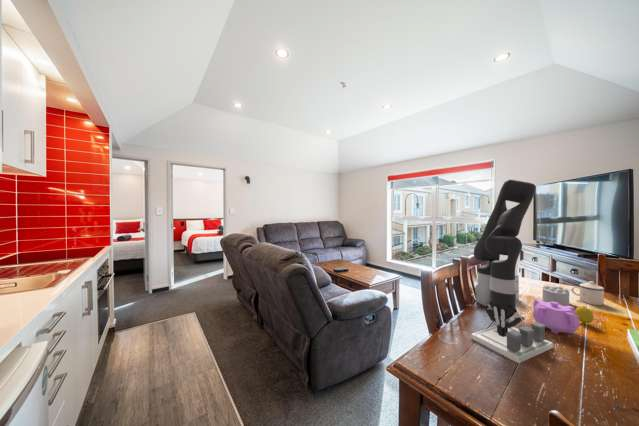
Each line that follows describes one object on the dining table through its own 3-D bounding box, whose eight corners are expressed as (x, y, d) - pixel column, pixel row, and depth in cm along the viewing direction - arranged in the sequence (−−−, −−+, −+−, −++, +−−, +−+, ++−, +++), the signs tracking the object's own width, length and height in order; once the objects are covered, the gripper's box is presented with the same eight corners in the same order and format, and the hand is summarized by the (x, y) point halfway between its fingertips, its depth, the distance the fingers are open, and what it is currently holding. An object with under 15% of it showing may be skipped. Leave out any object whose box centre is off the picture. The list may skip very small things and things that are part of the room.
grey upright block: (505, 348, 81) (505, 332, 81) (512, 345, 82) (512, 330, 82) (514, 353, 78) (515, 336, 78) (521, 350, 80) (521, 334, 80)
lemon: (597, 327, 99) (597, 309, 99) (582, 326, 100) (582, 308, 100) (585, 321, 104) (585, 304, 104) (571, 320, 106) (571, 303, 106)
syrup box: (519, 300, 130) (519, 275, 129) (509, 300, 130) (509, 275, 130) (511, 296, 135) (511, 272, 135) (501, 296, 135) (501, 272, 135)
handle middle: (518, 343, 84) (518, 327, 84) (524, 340, 85) (524, 325, 85) (527, 347, 81) (527, 331, 81) (534, 344, 83) (534, 329, 83)
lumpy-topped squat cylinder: (569, 302, 126) (569, 286, 126) (569, 309, 118) (569, 292, 118) (543, 296, 134) (543, 282, 134) (541, 303, 125) (541, 287, 125)
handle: (530, 338, 87) (530, 323, 87) (536, 336, 88) (536, 321, 88) (540, 342, 84) (540, 327, 84) (545, 340, 86) (545, 325, 86)
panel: (471, 338, 91) (471, 333, 91) (504, 327, 99) (504, 322, 99) (518, 363, 76) (518, 357, 76) (552, 348, 85) (552, 342, 85)
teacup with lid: (604, 302, 125) (604, 282, 125) (604, 307, 119) (604, 285, 119) (572, 296, 134) (572, 277, 134) (570, 300, 129) (570, 280, 129)
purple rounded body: (516, 319, 107) (516, 294, 107) (552, 318, 107) (552, 294, 107) (556, 341, 89) (556, 311, 89) (599, 340, 89) (599, 311, 89)
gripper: (530, 294, 78) (530, 343, 79) (489, 282, 91) (489, 325, 91) (517, 297, 76) (517, 348, 76) (477, 285, 88) (477, 328, 88)
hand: (502, 335), depth 83 cm, fingers closed
